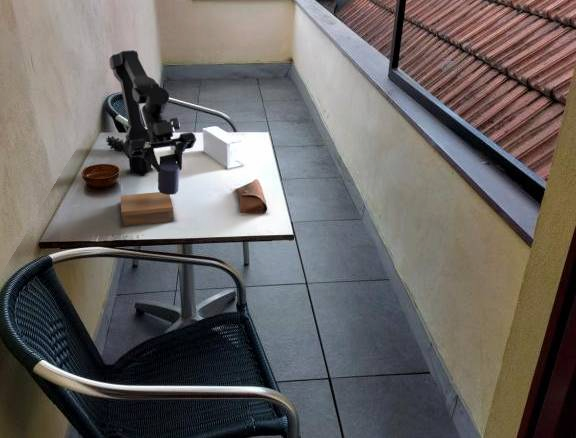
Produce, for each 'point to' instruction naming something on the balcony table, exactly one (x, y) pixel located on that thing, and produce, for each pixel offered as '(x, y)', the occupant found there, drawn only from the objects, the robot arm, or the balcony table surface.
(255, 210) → the sunglasses case
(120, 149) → the pine cone
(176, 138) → the white coral
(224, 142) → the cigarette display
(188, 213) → the balcony table surface
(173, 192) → the speaker
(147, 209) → the wooden block base
